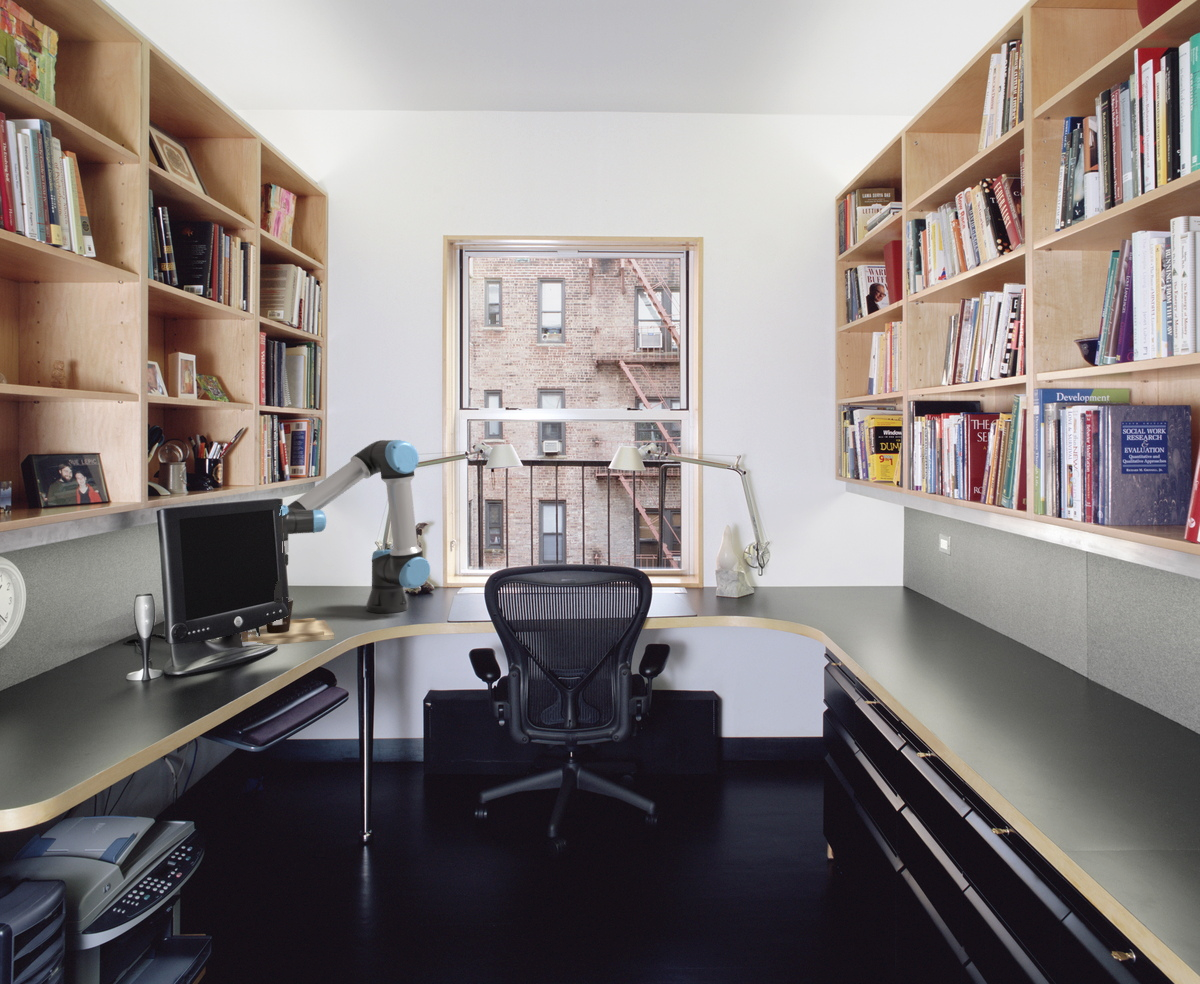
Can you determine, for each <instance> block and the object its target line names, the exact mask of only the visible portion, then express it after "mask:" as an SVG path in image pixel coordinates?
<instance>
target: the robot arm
mask: <svg viewBox="0 0 1200 984" xmlns="http://www.w3.org/2000/svg"><path fill="white" fill-rule="evenodd" d="M419 458H420V457H419V453H418V451H417V449H416V446H414V445H413V444H412V443H410V442H409V441H405V440H401V439H393V440H392V439H391V440H385V439H383V440H381V439H379V440H377V441H373V442H372V443H370V444H368V445H367V446H366V447H364V448H363V449H361V450H359V451H357V453H356V454H353V456H351V457H350V461H349V462H347V463H346V464H345V465H343V466H342V467H341V468H339V469H338V470H337V471H335V472H334V473H331V474H330V475H329V476H327V477H326V478H325V479H324V480H322V481H321V482H320V483H318V484H317V485H315V486H314V487H313V488H311V489H310V490H308V491H307V492H305V493H304V494H302V495H301V496H299V498H297V499H295V500H294V501H292V502H291V503H290V504H288V505H286V504H281V505H282V506H281V509H280V513H279V516H280V515H281V510H282V518H283V533H284V546H285V564H286V566H285V567H288V565H289V554H288V553H289V535H297V534H310V533H313V534H316V533H321V532H323V531H324V530H325V529H326V526H327V516H326V514H325V511H323V510H322V509H323V508H325V507H326V506H328V505H329V504H330V503H331V502H333V501H334V500H336V499H337V498H339V497H340V496H341V495H343V494H344V493H346V492H347V491H348V490H350V489H351V488H352V487H354V486H355V485H356V484H358V483H359V482H361V480H363V479H369V478H370V477H372V476H373V475H376V474H380V479H381V481H383V482H384V483H385V484H386V494H387V503H388V511H389V520H390V529H391V530H390V531H391V538H392V546H393V547H392V549H381V550H374V551H373V552H372V557H371V590H370V594H369V597H368V599H367V602H366V611H367V612H370V613H377V614H390V613H391V614H392V613H393V614H394V613H400V612H405V611H407V610H408V608H409V606H408V604H409V602H408V600H407V596H406V594H405V590H404V588H405V589H417V588H419V587H422V586H423V585H424V584H426V582H427V580H429V576H430V573H431V565H430V563H429V561H428V560H427V559H425V558H424V553H423V548H422V547H420V546H419V545H418V536H417V528H416V526H417V525H416V519H415V510H414V500H413V490H412V489H413V488H412V482H411V481H412V480H413V478H415V470H416V469H417V466H418V465H419V460H420V459H419ZM277 523H278V522H277ZM278 532H280V534H281V536H282V525H281V518H280V525H279V526H278ZM282 553H283V541H282ZM283 559H284V557H283ZM282 572H283V571H282ZM282 572H281V573H280V574H281V575H280V577H281V579H280V581H277V582H276V583H277V584H275V585H276V586H275V590H274V602H276V603H283V577H282ZM279 598H280V599H279ZM273 625H282V619H280V620H276V621H274V622H273Z"/></svg>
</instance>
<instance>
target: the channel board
mask: <svg viewBox="0 0 1200 984" xmlns="http://www.w3.org/2000/svg"><path fill="white" fill-rule="evenodd" d="M259 630H260V636H259V637H257V636H256V631H252V632H248V631H246V632H242V633H241V637H242V642H257V643H263V644H275V645H283V644H284V645H285V644H295V643H305V642H317V641H318V642H319V641H327V640H335V633H334V632H333V630H332V629H331V627H330V626H329V625H328V624H327V621H326V620H325V619H320V620H316V617H313V618H312V617H311V618H298V619H291V620H290V627H289V631H288V632H285V633H268V632H267V626H263V627H261V628H260V629H259ZM250 634H251V636H250V637H248V635H250Z"/></svg>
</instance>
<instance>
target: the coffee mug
mask: <svg viewBox="0 0 1200 984" xmlns="http://www.w3.org/2000/svg"><path fill="white" fill-rule="evenodd" d="M287 598H288V600H289V601H288V603H289V609H290V614H289V616H288V617H286V618H283V619H282V625H273V623H269V624H267V625H266V626H267V632H268V633H285V632H288V631H289V627H290V620H292V619H291V618H292V612H293V605H294V599H293V598H292V597H287Z"/></svg>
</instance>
